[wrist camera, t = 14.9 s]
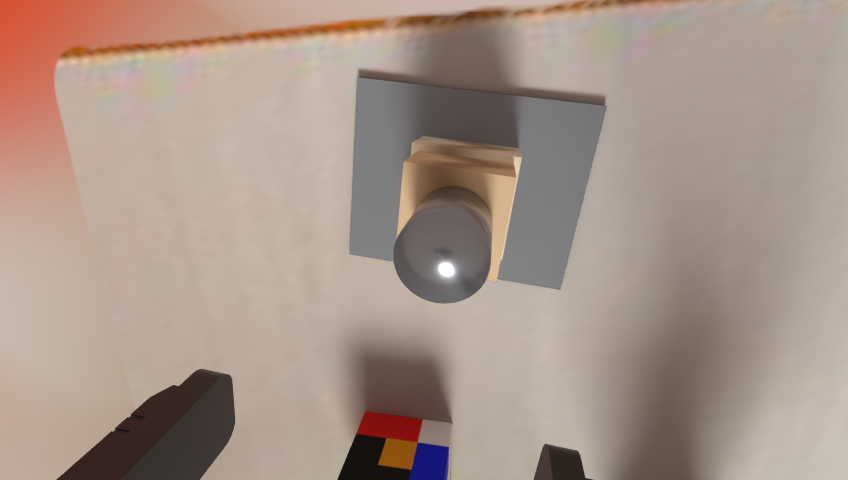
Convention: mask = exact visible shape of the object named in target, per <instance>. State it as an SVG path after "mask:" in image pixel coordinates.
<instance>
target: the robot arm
mask: <svg viewBox="0 0 848 480" xmlns="http://www.w3.org/2000/svg"><path fill="white" fill-rule="evenodd" d="M234 425H235V410H234V397H233V384H232V378H231V376H230V375H228V374H223V373H219V372H214V371H209V370H205V369H199V370H197V371H195V372H194V373H193V374H192V375H191V376H190V377H188V378H187V379H186V380H185V381H184V382H183V383H182V384H181V385H180V386H175V385H172V386H171V387H169V388H167V389H165V390H163V391H161V392H159V393H157V394H156V395H154V396H152V397H150V398H149V399H148V400H147V401H145V402H144V403H143V404H142V405H141V406H140V407H139V408H137V409H136V410H135V411H134V412H133V413H132V414H131V416H130V417H127V418H126V419H125V420H124V421H123V422H122V423H121V424H119V425H118V426H117V427H116V429H115V431H114V432H112V431H111V432H110V433H109V434H108V435H107V436H106V437H105V438H103V440H101V441H100V442H99V443H98V444H97V445H96V446H95V447H93V448H92V449H91V450H90V451H89V452H87V453H86V454H85V455H84V456H83V457H82V458H81V459H80V460H79V461H77V462H76V463H75V464H74V465H73V466H72V467H70V468H69V469H68V470H67V471H66V472H65V473H64V474H63V475H61V476H60V477H59V478H58V479H57V480H200V479H201V477H202V476H203V475H204V473H205V472H206V471H207V469H208V468H209V467H210V466H211V464H212V463H213V462H214V460H215V459H216V458H217V456H218V455H219V454H220V452H221V451H222V450H223V449H224V447H225V446H226V444H227V443H228V441H229V439H230V437H231V435H232V432H233V429H234ZM534 480H592V479H588V478H585V474H584V470H583V466H582V461H581V457H580V454H579V452H578V451H576V450H571V449H567V448H562V447H557V446H553V445H548V444H545V445H544V446H543V449H542V452H541V455H540V459H539V463H538V466H537V470H536V473H535V477H534Z"/></svg>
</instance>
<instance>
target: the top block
mask: <svg viewBox="0 0 848 480" xmlns="http://www.w3.org/2000/svg"><path fill="white" fill-rule="evenodd" d="M516 179H517V177H516V172H515V167H514V164H512V163H504V162H497V161H490V160H483V159H475V158H468V157H461V156H454V155H447V154H439V153H432V152H425V151H417V152H416V153H414V154H413V155H412V156H410V157H409V158H408V159H406V160H405V161H404V163H403V174H402V185H401V196H400V207H399V218H398V229H397V237H398V235H399V234H400V232H401V231H402V229H403V228H404V226H405V225H406V223H407V222H408V220H409V219H410V218H411V216H412V215H413V213H414V212H415V210H416V209H417V207H418V206H419V205H420V203H421V202H422V200H423V199H424V198H425V197H426V196H427V195H428V194H429V193H431V192H432V191H434V190H436V189H438V188H441V187H446V186H460V187H464V188H467V189H470V190H472V191H474V192H475V193H476V194H478V195H479V196H480V197H481V198H482V199H483V200H484V201H485V202H486V204H487V205H488V207H489V209H490V212H491V215H492V222H493V227H492V250H491V266H490V271H489V274H488V277H487V280H493V281H497V277H498V272H499V267H500V261H501V256H502V251H503V246H504V241H505V236H506V230H507V225H508V220H509V215H510V210H511V205H512V200H513V194H514V189H515V184H516Z"/></svg>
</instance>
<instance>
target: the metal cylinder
mask: <svg viewBox="0 0 848 480" xmlns="http://www.w3.org/2000/svg"><path fill="white" fill-rule="evenodd" d="M492 227H493V222H492V215H491V212H490V209H489V207H488V205H487V204H486V202H485V201H484V200H483V199H482V198H481V197H480V196H479V195H478V194H476V193H475V192H474V191H472V190H470V189H467V188H464V187H460V186H446V187H441V188H438V189H436V190H434V191H432V192H431V193H429V194H428V195H427V196H426V197H425V198H424V199H423V200H422V202H421V203H420V205H419V206H418V207H417V209H416V210H415V212H414V213H413V215H412V216H411V218H410V219H409V220H408V222H407V223H406V225H405V226H404V228H403V229H402V231H401V232H400V234H399V235H398V237H397V239H396V242H395V245H394V251H393V259H394V265H395V269H396V272H397V274H398V276H399V278H400V280H401V281H402V282H403V284H404V285H405V286H406V287H407V288H408V289H409V290H410V291H411V292H412V293H414V294H415V295H417V296H419V297H421V298H423V299H425V300H428V301H431V302H435V303H454V302H459V301H462V300H464V299H466V298H468V297H470V296H472V295H473V294H475V293H476V292H477V291H478V290H479V289H480V288H481V287H482V285H483V284H484V283H485V281H486V279H487V277H488V274H489V271H490V266H491V250H492Z"/></svg>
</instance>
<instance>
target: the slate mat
mask: <svg viewBox="0 0 848 480" xmlns="http://www.w3.org/2000/svg"><path fill="white" fill-rule="evenodd" d="M606 107H607V106H603V105H594V104H585V103H576V102H568V101H559V100H550V99H542V98H533V97H524V96H516V95H507V94H498V93H489V92H481V91H472V90H463V89H455V88H446V87H437V86H428V85H420V84H411V83H402V82H394V81H385V80H376V79H368V78H359V77H357V95H356V118H355V140H354V163H353V185H352V208H351V230H350V253H349V254H352V255H358V256H363V257H369V258H375V259H381V260H387V261H393V262H394V259H393V251H394V245H395V242H396V239H397V229H398V218H399V207H400V196H401V185H402V174H403V163H404V161H405V160H406V159H408V158H409V157H410V156H411V146H412V142H414V141H415V140H417V139H419V138H420V137H422V136H430V137H437V138H445V139H452V140H460V141H468V142H475V143H483V144H490V145H498V146H505V147H513V148H519V151H520V154H521V156H522V159H521V165H520V170H519V175H518V180H517V185H516V191H515V196H514V201H513V206H512V211H511V217H510V222H509V227H508V232H507V237H506V242H505V248H504V253H503V258H502V260H501V261H500V267H499V272H498V277H497V279H499V280H505V281H511V282H517V283H523V284H529V285H535V286H541V287H547V288H553V289H558V290H560V288H561V284H562V281H563V277H564V273H565V269H566V265H567V261H568V257H569V253H570V249H571V245H572V241H573V237H574V233H575V229H576V225H577V221H578V217H579V214H580V210H581V206H582V202H583V198H584V194H585V190H586V186H587V182H588V178H589V174H590V170H591V166H592V162H593V158H594V154H595V150H596V147H597V143H598V139H599V135H600V131H601V127H602V123H603V119H604V115H605V111H606Z"/></svg>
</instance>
